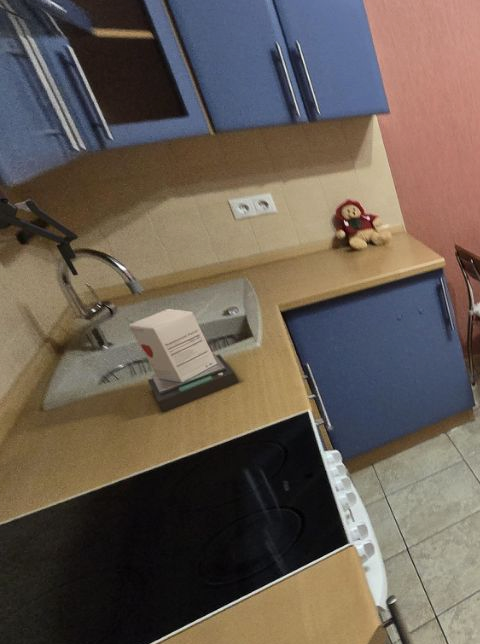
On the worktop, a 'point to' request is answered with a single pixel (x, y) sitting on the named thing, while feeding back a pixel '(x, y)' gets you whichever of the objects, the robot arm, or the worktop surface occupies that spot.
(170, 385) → the scale pan
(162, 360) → the rectangular carton
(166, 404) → the scale base
